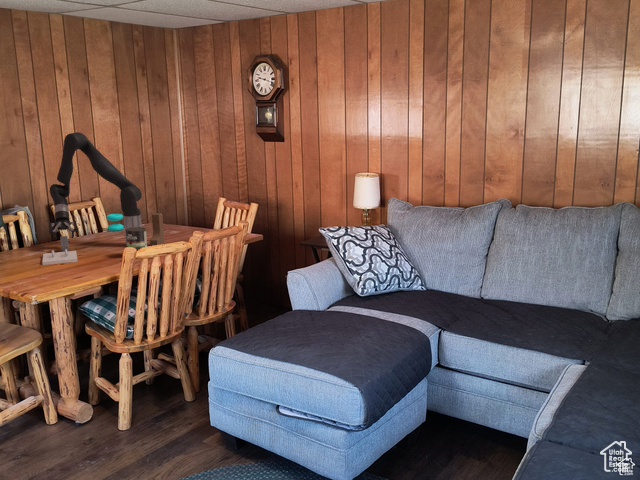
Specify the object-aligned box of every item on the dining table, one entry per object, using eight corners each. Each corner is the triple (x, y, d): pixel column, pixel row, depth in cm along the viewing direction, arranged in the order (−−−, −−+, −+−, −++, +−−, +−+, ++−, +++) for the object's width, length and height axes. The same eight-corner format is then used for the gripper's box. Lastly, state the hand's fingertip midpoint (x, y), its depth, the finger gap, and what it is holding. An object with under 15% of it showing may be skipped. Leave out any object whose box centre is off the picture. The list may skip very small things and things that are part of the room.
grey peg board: (43, 256, 314) (42, 248, 313) (76, 253, 320) (75, 245, 319) (42, 265, 296) (41, 256, 295) (77, 261, 302) (76, 252, 301)
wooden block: (157, 248, 330) (155, 215, 327) (150, 247, 331) (147, 215, 327) (164, 244, 339) (162, 213, 335) (157, 244, 340) (155, 213, 336)
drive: (61, 250, 327) (60, 236, 325) (69, 250, 328) (67, 235, 326) (61, 252, 322) (60, 238, 320) (69, 252, 323) (67, 237, 322)
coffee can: (139, 258, 307) (137, 231, 305) (123, 256, 311) (121, 230, 308) (152, 253, 317) (150, 227, 314) (136, 252, 321) (134, 226, 318)
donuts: (103, 214, 381) (117, 212, 388) (104, 230, 383) (119, 228, 390) (111, 216, 374) (125, 214, 381) (112, 232, 376) (127, 229, 384)
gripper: (47, 211, 327) (49, 235, 319) (75, 209, 333) (77, 233, 325) (48, 219, 333) (50, 243, 325) (76, 217, 339) (78, 240, 331)
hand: (64, 238), depth 325 cm, fingers open, 8 cm apart
